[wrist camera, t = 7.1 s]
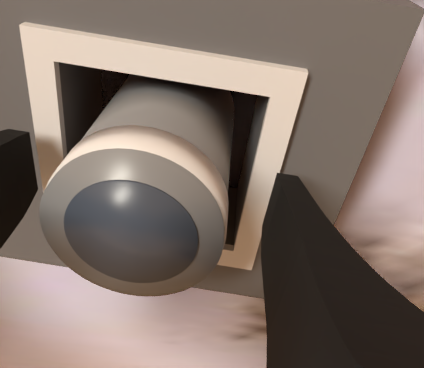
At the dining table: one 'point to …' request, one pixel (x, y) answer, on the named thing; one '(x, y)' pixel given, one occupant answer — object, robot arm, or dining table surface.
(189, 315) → the dining table surface
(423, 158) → the dining table surface
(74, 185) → the lens
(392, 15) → the grey frame block
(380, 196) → the dining table surface
